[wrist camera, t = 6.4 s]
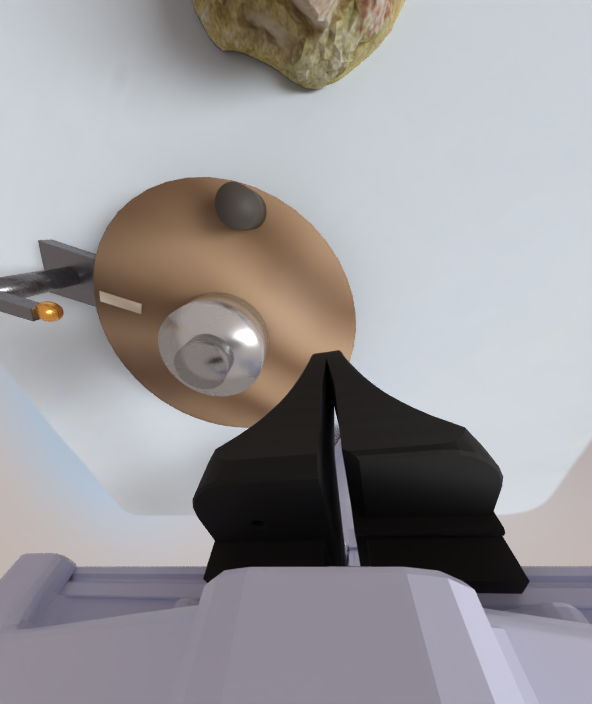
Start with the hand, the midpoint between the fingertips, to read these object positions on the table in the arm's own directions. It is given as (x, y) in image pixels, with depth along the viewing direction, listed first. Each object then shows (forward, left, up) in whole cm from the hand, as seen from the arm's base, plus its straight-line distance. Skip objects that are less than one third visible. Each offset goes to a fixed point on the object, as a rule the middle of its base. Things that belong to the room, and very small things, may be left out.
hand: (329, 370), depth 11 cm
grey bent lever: (-4, +20, -9) cm, 22 cm away
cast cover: (-4, +7, -7) cm, 10 cm away
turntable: (-4, +7, -8) cm, 11 cm away
